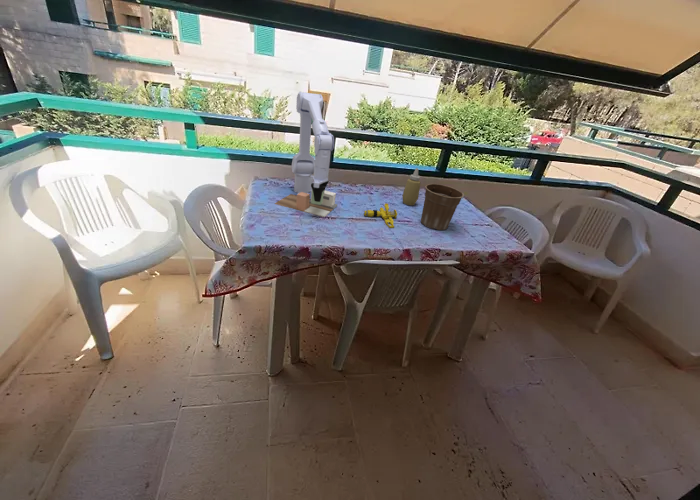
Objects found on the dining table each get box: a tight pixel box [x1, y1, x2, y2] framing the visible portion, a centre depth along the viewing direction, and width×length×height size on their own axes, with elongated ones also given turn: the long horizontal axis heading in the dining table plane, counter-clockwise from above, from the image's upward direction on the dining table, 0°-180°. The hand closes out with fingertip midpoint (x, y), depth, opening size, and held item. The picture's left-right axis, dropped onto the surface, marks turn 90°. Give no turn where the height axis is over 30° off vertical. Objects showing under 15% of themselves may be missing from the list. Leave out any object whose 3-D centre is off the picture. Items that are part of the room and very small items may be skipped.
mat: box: [304, 206, 331, 218], centre depth 136 cm, size 6×9×1 cm, turn 71°
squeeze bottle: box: [401, 167, 422, 206], centre depth 160 cm, size 8×8×18 cm
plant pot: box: [420, 183, 465, 231], centre depth 141 cm, size 16×16×16 cm
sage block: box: [310, 190, 324, 205], centre depth 133 cm, size 4×4×6 cm
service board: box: [274, 193, 337, 218], centre depth 142 cm, size 15×23×1 cm, turn 71°
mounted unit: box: [309, 190, 338, 210], centre depth 143 cm, size 5×12×6 cm, turn 71°
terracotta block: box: [296, 192, 311, 210], centre depth 137 cm, size 4×4×6 cm
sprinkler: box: [363, 202, 398, 229], centre depth 142 cm, size 19×4×15 cm
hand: (318, 199), depth 133 cm, fingers closed on sage block, 4 cm apart
